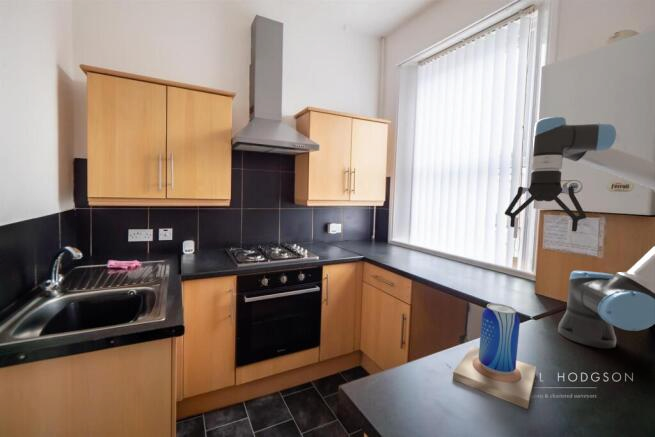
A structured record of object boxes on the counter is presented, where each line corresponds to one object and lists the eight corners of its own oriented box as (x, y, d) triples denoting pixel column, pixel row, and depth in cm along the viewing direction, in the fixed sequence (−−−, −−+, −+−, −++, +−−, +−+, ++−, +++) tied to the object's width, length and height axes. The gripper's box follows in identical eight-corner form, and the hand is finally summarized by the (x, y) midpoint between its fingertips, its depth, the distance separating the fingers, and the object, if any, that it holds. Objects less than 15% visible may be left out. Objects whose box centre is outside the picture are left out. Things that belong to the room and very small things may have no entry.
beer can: (520, 379, 74) (526, 316, 73) (483, 374, 76) (488, 312, 74) (507, 361, 82) (512, 304, 81) (474, 357, 84) (478, 300, 82)
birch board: (535, 373, 81) (536, 365, 81) (527, 409, 67) (528, 398, 67) (471, 352, 91) (472, 344, 91) (452, 379, 77) (453, 370, 77)
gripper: (497, 171, 97) (493, 237, 98) (602, 168, 82) (595, 246, 83) (501, 172, 103) (497, 235, 104) (599, 170, 88) (593, 243, 89)
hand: (541, 240), depth 94 cm, fingers open, 13 cm apart
